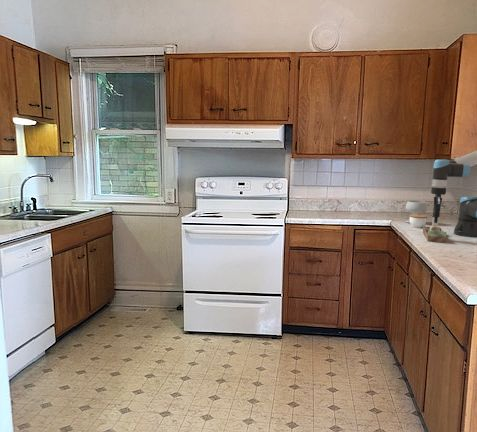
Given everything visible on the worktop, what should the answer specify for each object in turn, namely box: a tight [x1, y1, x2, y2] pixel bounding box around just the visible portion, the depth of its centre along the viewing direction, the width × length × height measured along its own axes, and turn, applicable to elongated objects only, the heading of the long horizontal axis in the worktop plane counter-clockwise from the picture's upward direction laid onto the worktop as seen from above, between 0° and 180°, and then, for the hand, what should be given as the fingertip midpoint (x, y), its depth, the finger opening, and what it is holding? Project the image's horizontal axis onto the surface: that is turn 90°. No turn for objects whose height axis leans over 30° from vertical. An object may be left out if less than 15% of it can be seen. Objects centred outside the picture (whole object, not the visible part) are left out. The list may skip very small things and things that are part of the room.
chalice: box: [405, 200, 428, 224], centre depth 296 cm, size 14×14×15 cm
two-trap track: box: [422, 224, 447, 243], centre depth 246 cm, size 9×27×6 cm, turn 162°
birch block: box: [429, 225, 441, 231], centre depth 239 cm, size 4×4×4 cm
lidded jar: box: [409, 213, 428, 229], centre depth 279 cm, size 11×11×9 cm
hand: (434, 228), depth 242 cm, fingers closed
